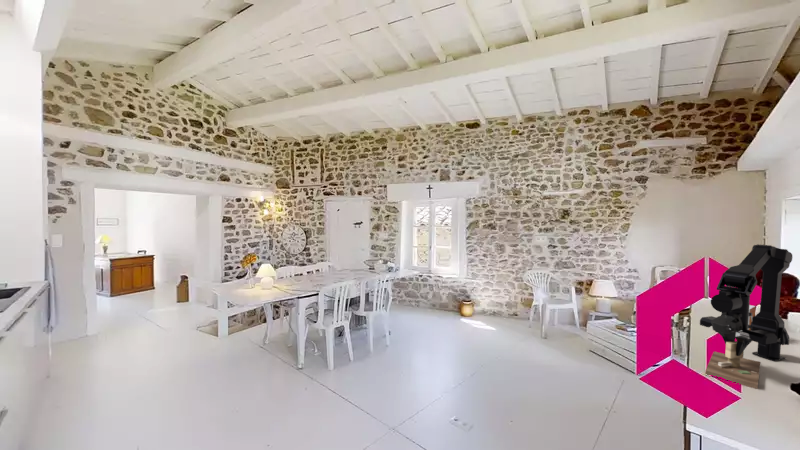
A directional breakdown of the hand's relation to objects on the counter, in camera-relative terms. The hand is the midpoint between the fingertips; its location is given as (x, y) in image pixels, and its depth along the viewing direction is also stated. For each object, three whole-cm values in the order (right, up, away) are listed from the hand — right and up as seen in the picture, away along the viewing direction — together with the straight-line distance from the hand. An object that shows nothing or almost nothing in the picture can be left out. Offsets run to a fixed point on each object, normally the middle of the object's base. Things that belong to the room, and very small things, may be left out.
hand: (734, 354), depth 118 cm
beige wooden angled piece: (-1, -4, 0) cm, 4 cm away
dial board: (0, -6, 0) cm, 6 cm away
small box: (+33, -4, +32) cm, 46 cm away
